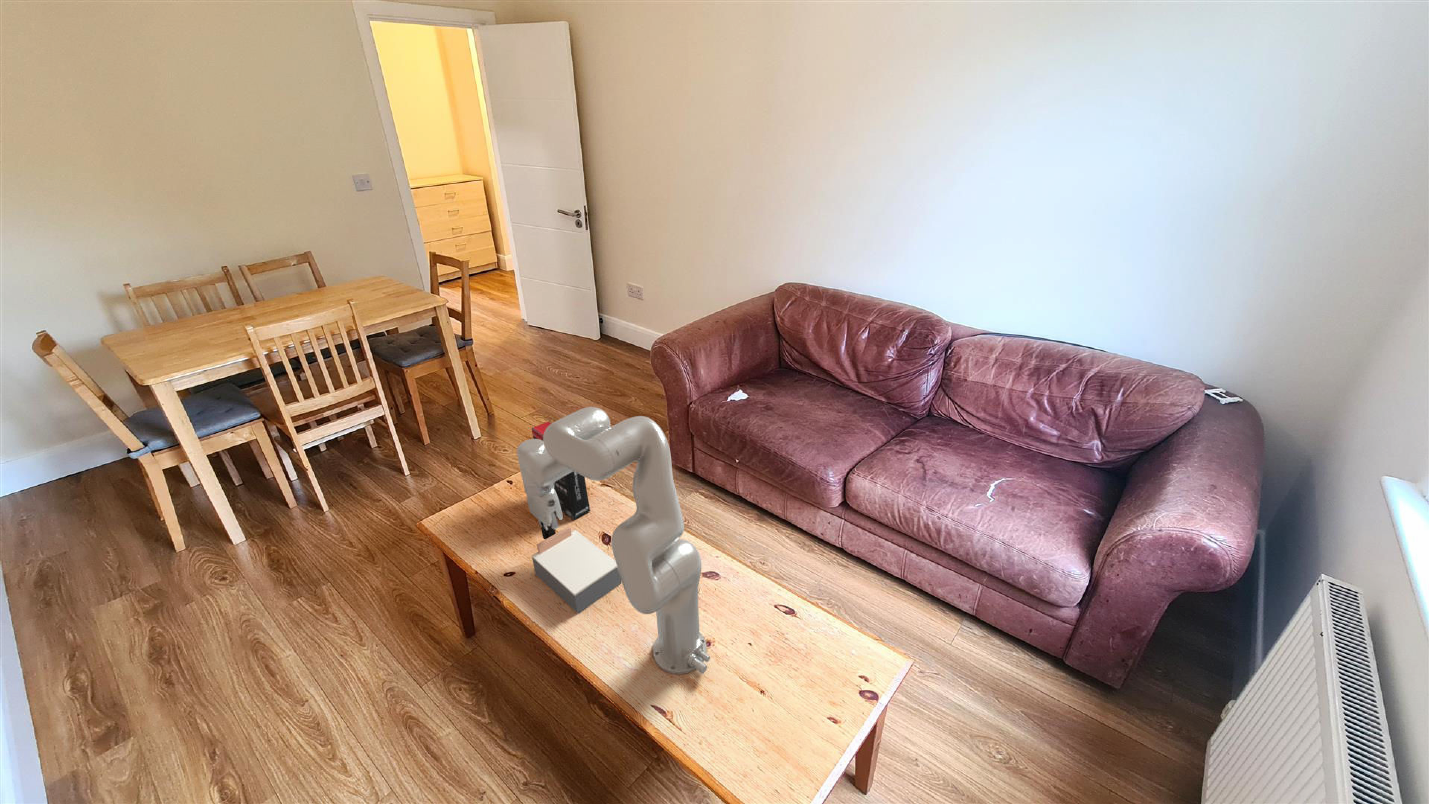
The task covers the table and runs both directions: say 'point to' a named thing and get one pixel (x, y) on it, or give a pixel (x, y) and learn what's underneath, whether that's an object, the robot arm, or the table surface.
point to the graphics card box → (568, 486)
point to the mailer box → (586, 595)
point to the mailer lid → (573, 560)
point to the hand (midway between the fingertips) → (549, 537)
